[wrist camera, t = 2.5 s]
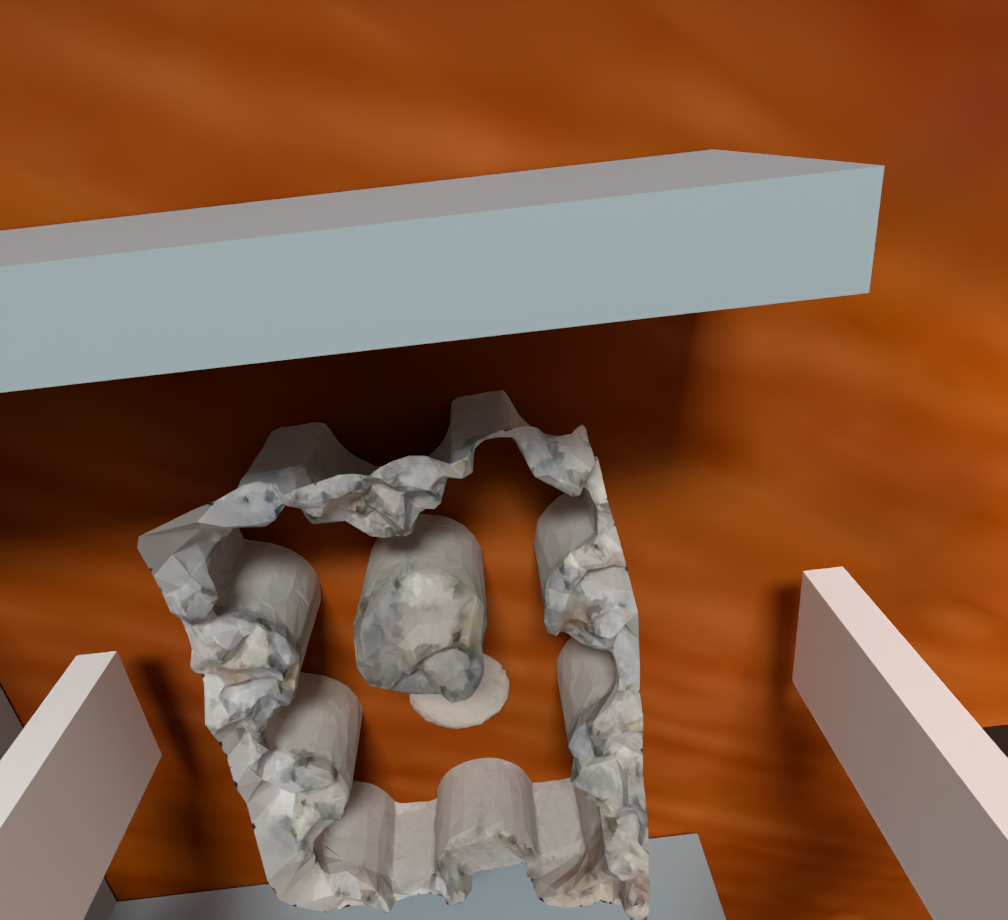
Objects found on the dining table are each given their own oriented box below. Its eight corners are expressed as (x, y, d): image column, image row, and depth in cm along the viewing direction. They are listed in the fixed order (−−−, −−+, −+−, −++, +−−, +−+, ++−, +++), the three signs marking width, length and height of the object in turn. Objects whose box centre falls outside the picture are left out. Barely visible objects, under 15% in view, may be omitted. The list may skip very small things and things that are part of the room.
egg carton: (620, 773, 18) (663, 946, 14) (319, 809, 18) (282, 992, 14) (602, 364, 13) (660, 462, 9) (193, 412, 13) (87, 529, 9)
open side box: (86, 935, 19) (-34, 1195, 14) (-308, 266, 11) (-835, 361, 7) (696, 863, 19) (771, 1098, 14) (713, 149, 11) (884, 165, 7)
